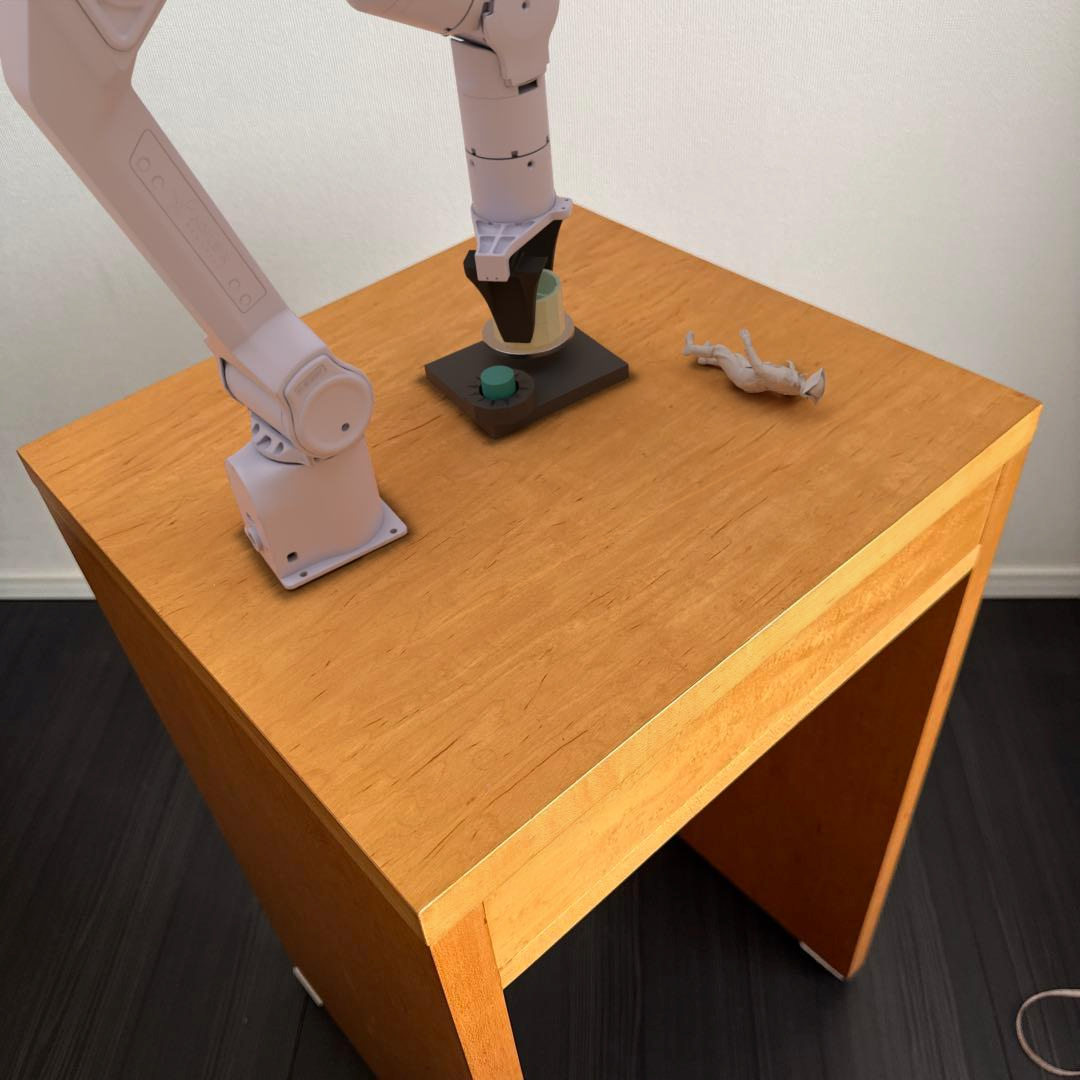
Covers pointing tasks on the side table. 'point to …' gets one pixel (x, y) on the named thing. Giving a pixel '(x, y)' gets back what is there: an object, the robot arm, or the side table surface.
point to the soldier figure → (757, 370)
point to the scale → (526, 381)
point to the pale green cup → (543, 315)
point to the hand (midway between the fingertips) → (526, 318)
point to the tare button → (498, 382)
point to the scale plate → (509, 353)
